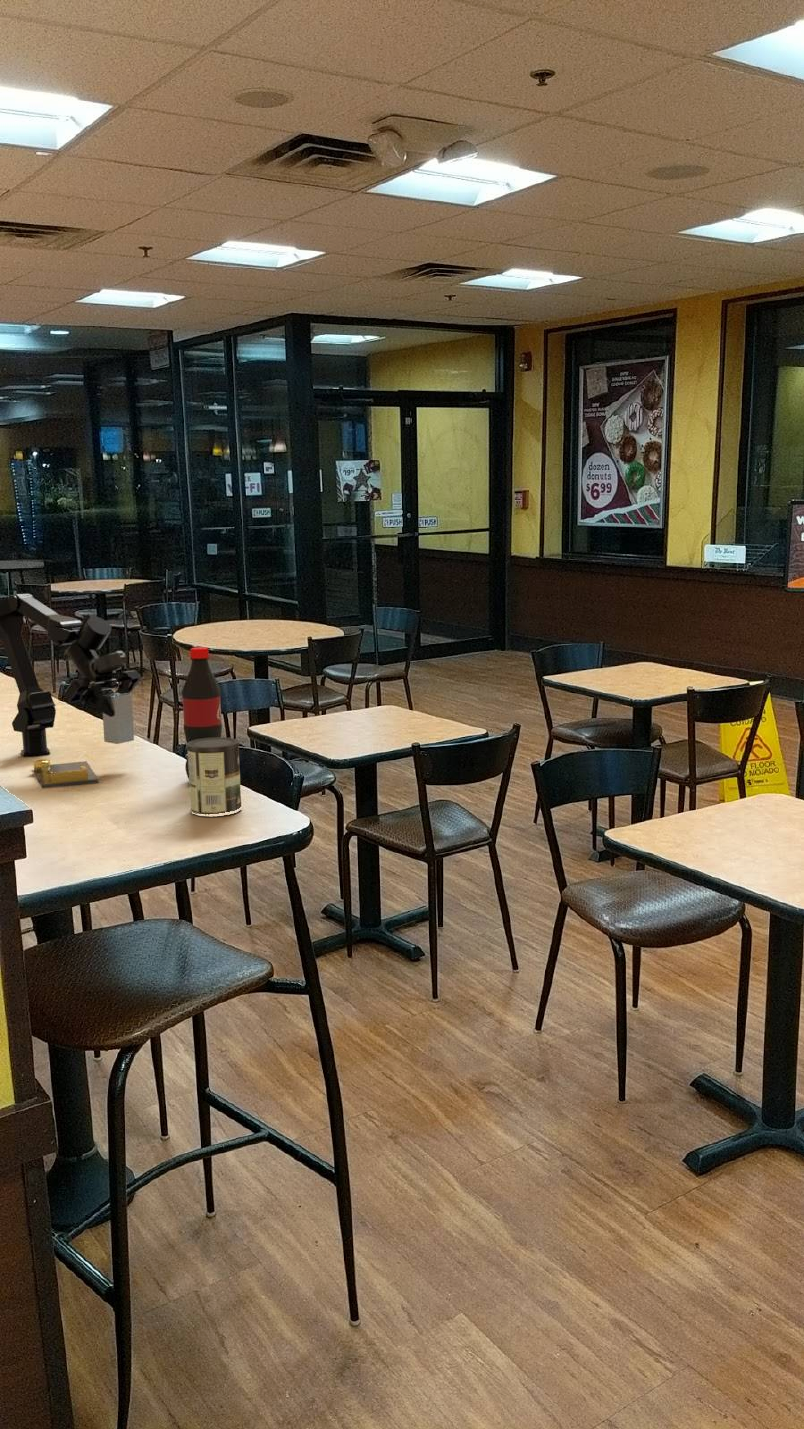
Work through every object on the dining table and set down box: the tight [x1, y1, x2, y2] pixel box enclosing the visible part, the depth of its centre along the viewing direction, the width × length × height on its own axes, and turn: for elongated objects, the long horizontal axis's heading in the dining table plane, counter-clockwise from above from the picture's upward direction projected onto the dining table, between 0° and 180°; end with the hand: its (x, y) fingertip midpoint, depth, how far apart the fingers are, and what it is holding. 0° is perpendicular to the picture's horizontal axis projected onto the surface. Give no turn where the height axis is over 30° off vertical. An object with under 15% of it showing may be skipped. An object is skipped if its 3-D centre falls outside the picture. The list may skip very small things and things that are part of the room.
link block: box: [102, 692, 135, 745], centre depth 253 cm, size 4×5×11 cm
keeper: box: [33, 758, 100, 789], centre depth 249 cm, size 20×12×3 cm, turn 23°
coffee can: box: [186, 736, 242, 815], centre depth 216 cm, size 10×10×14 cm
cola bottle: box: [181, 646, 223, 780], centre depth 240 cm, size 8×8×30 cm
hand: (121, 713), depth 252 cm, fingers closed on link block, 5 cm apart
